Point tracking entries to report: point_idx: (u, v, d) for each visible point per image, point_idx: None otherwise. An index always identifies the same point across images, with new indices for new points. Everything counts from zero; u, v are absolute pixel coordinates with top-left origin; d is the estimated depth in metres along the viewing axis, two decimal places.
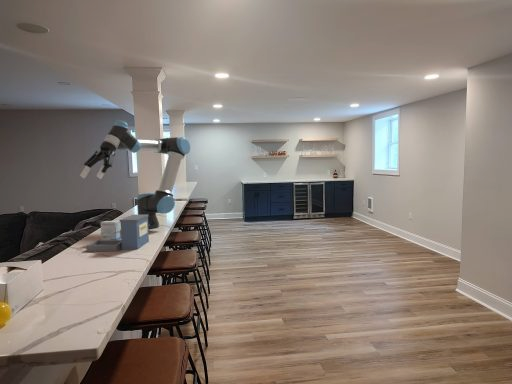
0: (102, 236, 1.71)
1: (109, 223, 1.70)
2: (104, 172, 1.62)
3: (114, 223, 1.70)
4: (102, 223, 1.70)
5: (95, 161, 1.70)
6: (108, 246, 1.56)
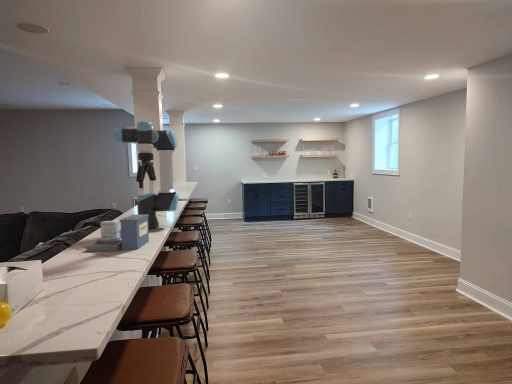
0: (102, 236, 1.71)
1: (109, 223, 1.70)
2: None
3: (114, 223, 1.70)
4: (102, 223, 1.70)
5: None
6: (108, 246, 1.56)
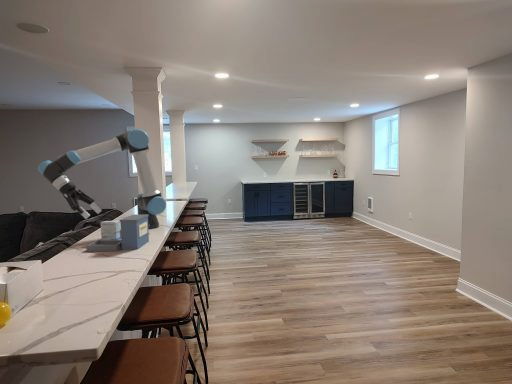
0: (102, 236, 1.71)
1: (109, 223, 1.70)
2: None
3: (114, 223, 1.70)
4: (102, 223, 1.70)
5: None
6: (108, 246, 1.56)
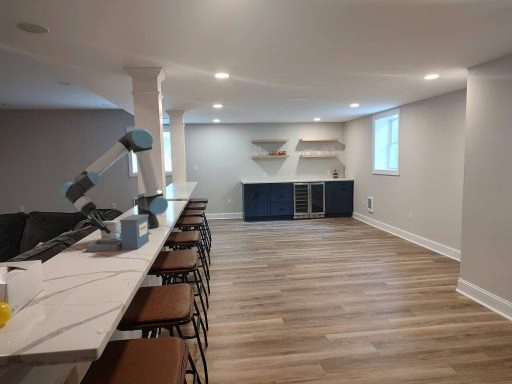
0: (102, 236, 1.71)
1: (109, 223, 1.70)
2: None
3: (114, 223, 1.70)
4: None
5: None
6: (108, 246, 1.56)
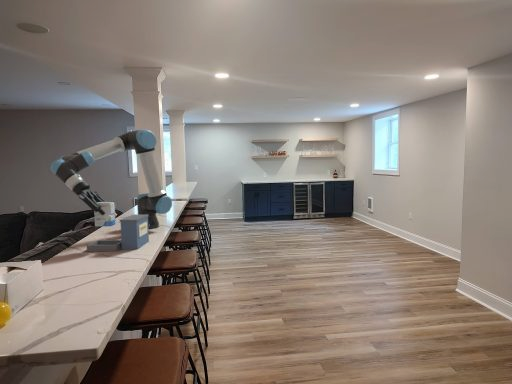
0: (96, 218, 1.58)
1: (103, 204, 1.57)
2: None
3: (109, 204, 1.57)
4: None
5: None
6: (108, 246, 1.56)
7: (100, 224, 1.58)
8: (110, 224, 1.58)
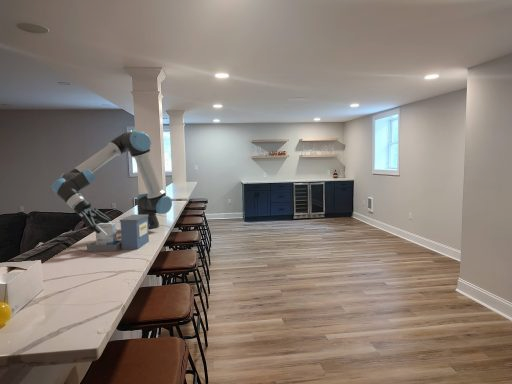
0: (97, 239, 1.59)
1: (105, 225, 1.58)
2: None
3: (111, 225, 1.58)
4: (97, 225, 1.58)
5: None
6: (108, 246, 1.56)
7: None
8: None
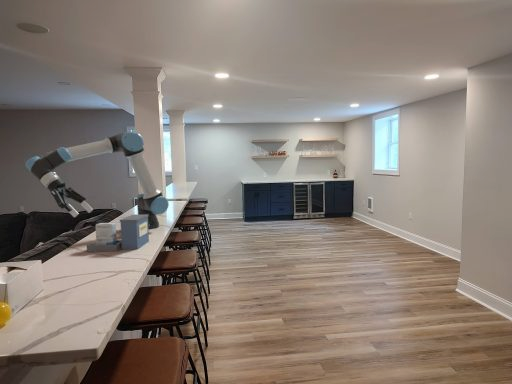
0: (97, 239, 1.59)
1: (105, 225, 1.58)
2: None
3: (111, 225, 1.58)
4: (97, 225, 1.58)
5: None
6: (108, 246, 1.56)
7: None
8: None
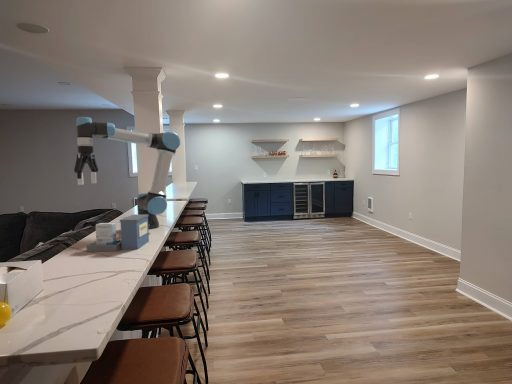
0: (97, 239, 1.59)
1: (105, 225, 1.58)
2: None
3: (111, 225, 1.58)
4: (97, 225, 1.58)
5: None
6: (108, 246, 1.56)
7: None
8: None
